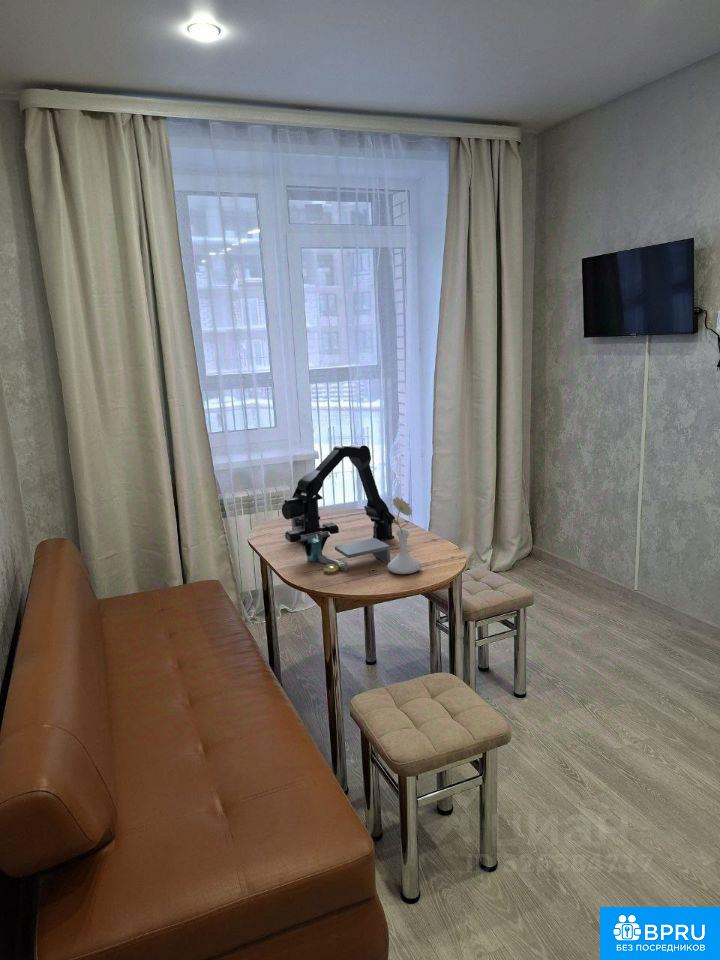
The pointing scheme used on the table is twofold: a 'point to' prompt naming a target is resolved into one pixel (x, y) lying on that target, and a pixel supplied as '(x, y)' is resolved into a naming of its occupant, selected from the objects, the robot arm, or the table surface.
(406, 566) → the flower in vase
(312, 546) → the blade tool
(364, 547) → the shelf
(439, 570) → the table surface
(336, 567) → the token
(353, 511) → the table surface
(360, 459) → the robot arm
